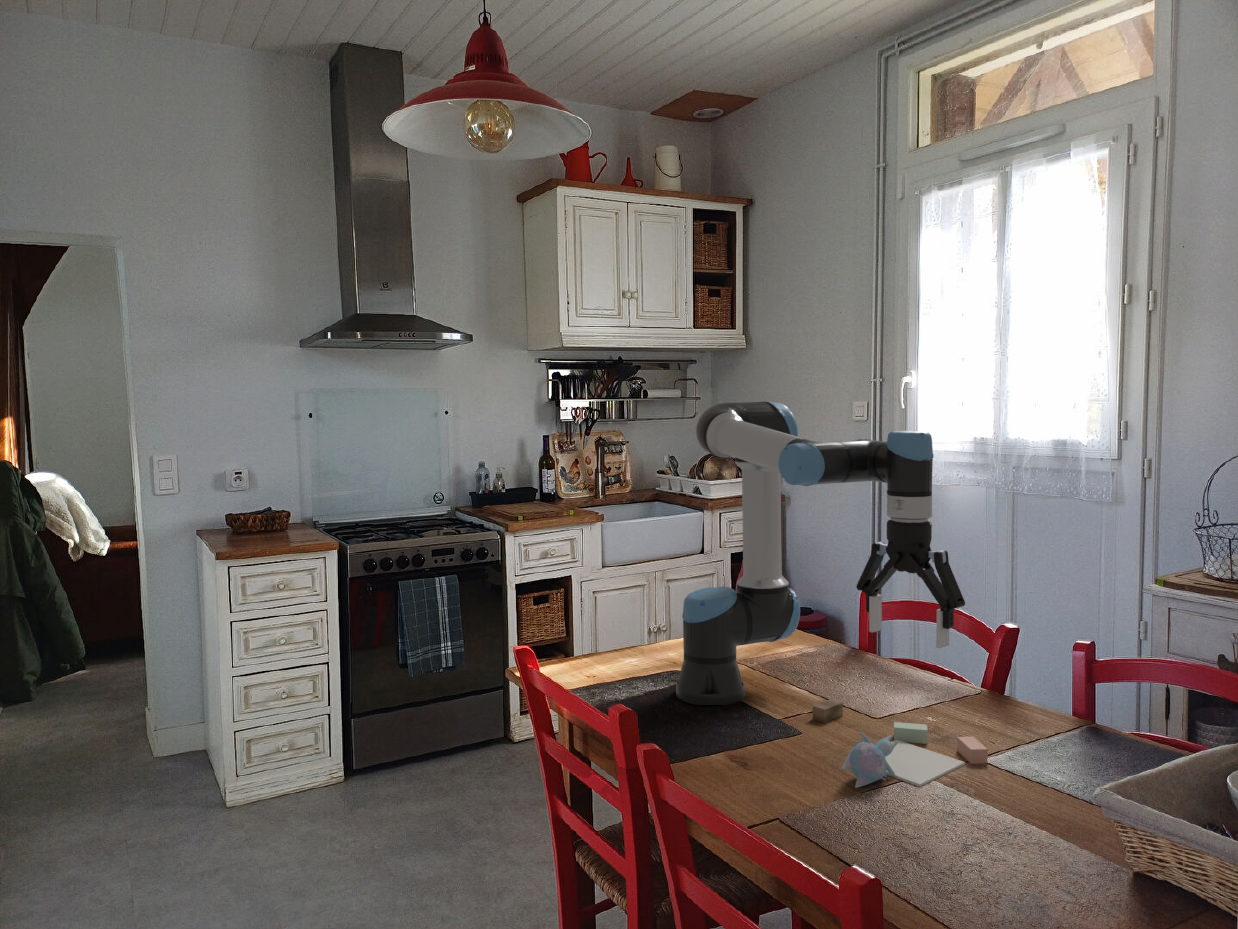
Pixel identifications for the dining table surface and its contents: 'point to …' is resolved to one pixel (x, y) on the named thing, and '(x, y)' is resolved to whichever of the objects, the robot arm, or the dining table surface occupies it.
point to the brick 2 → (910, 732)
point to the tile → (919, 764)
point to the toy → (869, 760)
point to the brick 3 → (972, 750)
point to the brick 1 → (827, 710)
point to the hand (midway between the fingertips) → (907, 638)
